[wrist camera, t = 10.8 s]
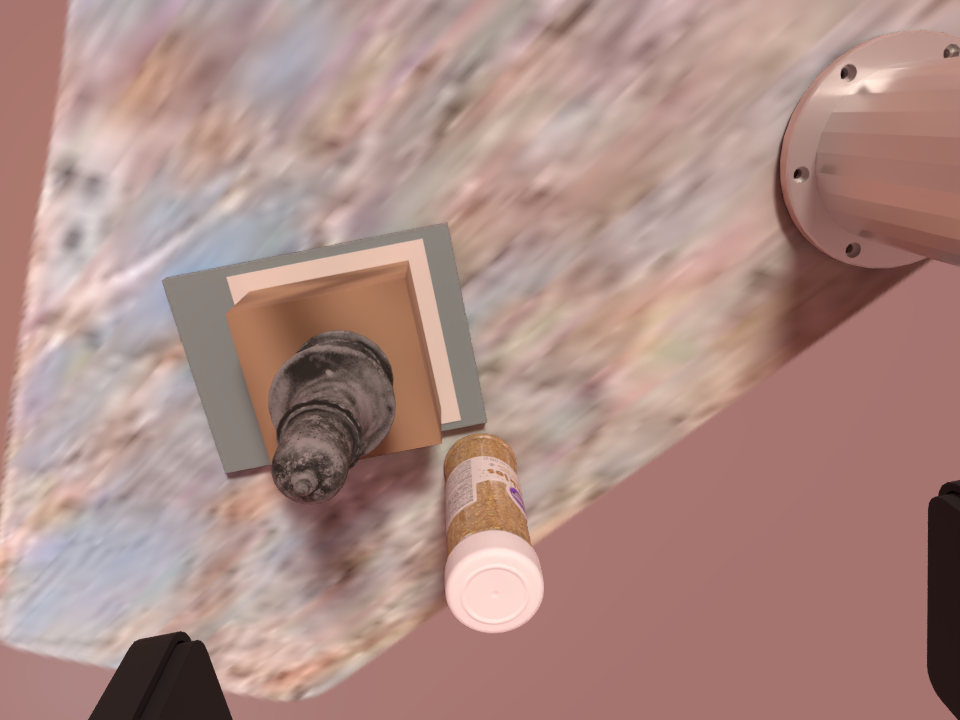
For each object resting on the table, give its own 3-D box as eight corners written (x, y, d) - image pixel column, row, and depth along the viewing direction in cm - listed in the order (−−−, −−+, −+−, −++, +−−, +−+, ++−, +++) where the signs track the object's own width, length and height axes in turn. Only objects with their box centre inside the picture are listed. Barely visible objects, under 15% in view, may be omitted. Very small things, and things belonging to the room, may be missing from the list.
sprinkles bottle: (530, 461, 47) (566, 591, 34) (480, 509, 48) (497, 655, 35) (477, 415, 46) (493, 533, 33) (426, 466, 46) (423, 600, 34)
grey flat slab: (447, 222, 42) (447, 224, 41) (486, 417, 46) (487, 422, 45) (166, 277, 42) (161, 280, 41) (228, 467, 46) (225, 474, 45)
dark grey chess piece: (366, 451, 39) (338, 587, 28) (263, 401, 38) (190, 523, 27) (419, 358, 38) (412, 462, 27) (314, 303, 37) (259, 387, 25)
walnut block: (408, 260, 41) (405, 278, 37) (441, 408, 44) (441, 443, 39) (249, 291, 41) (225, 314, 37) (292, 437, 44) (274, 475, 40)
